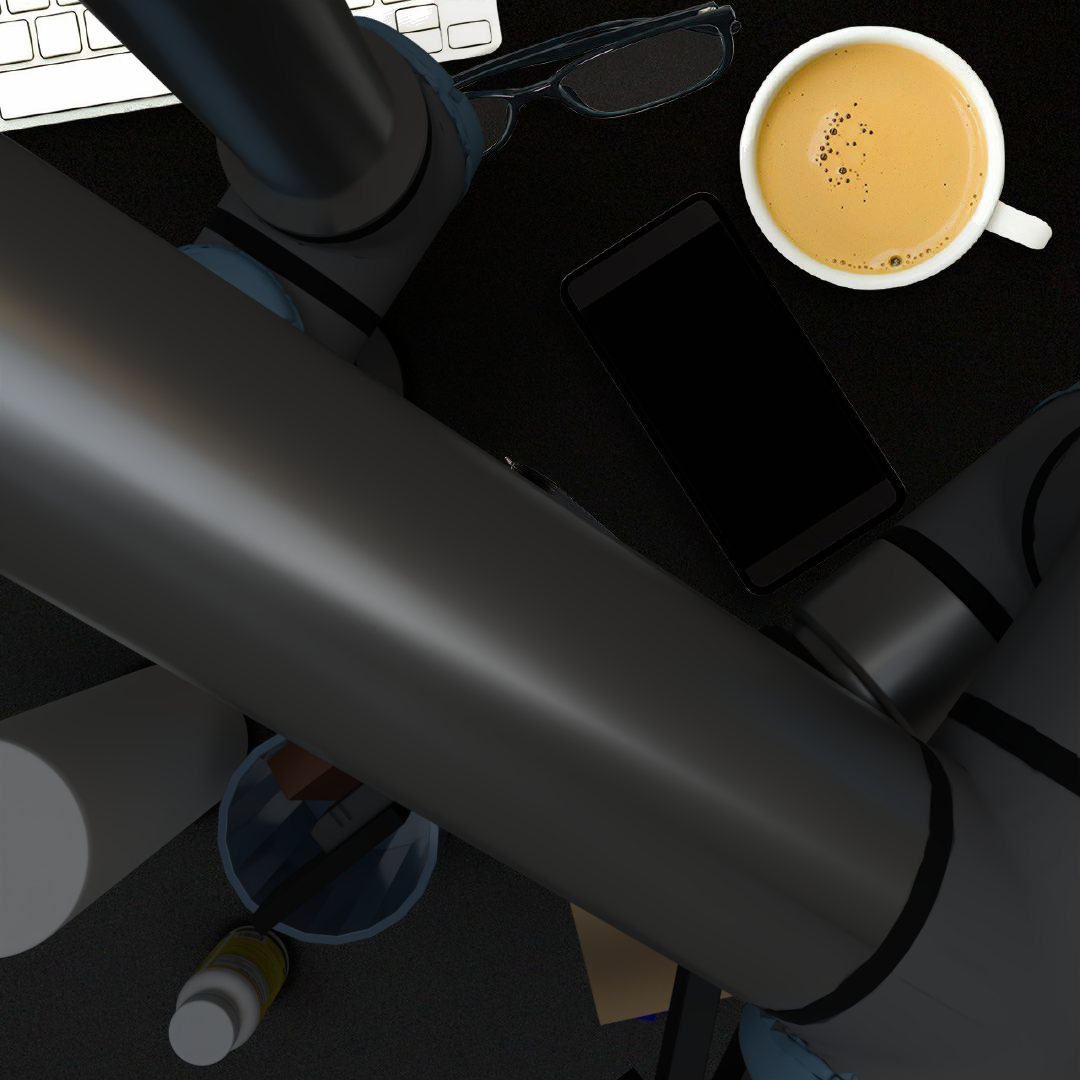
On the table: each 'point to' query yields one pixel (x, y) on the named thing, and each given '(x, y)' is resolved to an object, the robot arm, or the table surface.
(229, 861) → the bin
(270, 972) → the pill bottle
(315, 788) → the chocolate box
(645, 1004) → the stand
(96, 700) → the cylinder
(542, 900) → the table surface
